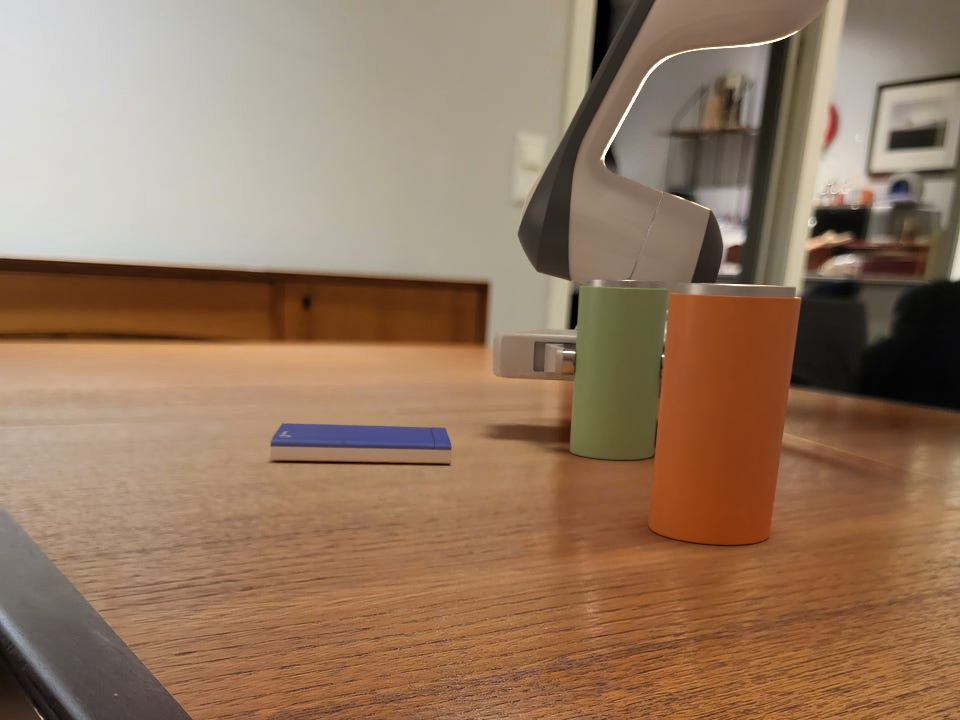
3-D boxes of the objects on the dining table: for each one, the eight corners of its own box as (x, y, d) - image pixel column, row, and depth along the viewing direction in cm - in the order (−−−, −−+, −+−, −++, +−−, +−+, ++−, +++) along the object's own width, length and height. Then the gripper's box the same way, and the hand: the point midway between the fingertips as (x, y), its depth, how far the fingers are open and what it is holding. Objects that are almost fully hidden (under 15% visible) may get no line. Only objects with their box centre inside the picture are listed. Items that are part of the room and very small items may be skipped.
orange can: (732, 514, 58) (760, 285, 53) (792, 542, 52) (829, 287, 48) (630, 517, 56) (650, 281, 52) (679, 547, 50) (707, 283, 46)
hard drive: (269, 438, 68) (451, 443, 69) (281, 421, 76) (445, 425, 77) (270, 462, 68) (451, 465, 70) (282, 442, 76) (444, 446, 77)
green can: (633, 445, 80) (647, 280, 76) (667, 459, 75) (684, 282, 70) (558, 446, 79) (567, 278, 74) (586, 461, 73) (599, 279, 69)
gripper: (502, 309, 87) (480, 314, 74) (743, 318, 84) (763, 325, 71) (500, 384, 89) (477, 401, 76) (734, 394, 86) (752, 415, 73)
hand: (618, 364), depth 74 cm, fingers closed on green can, 6 cm apart
